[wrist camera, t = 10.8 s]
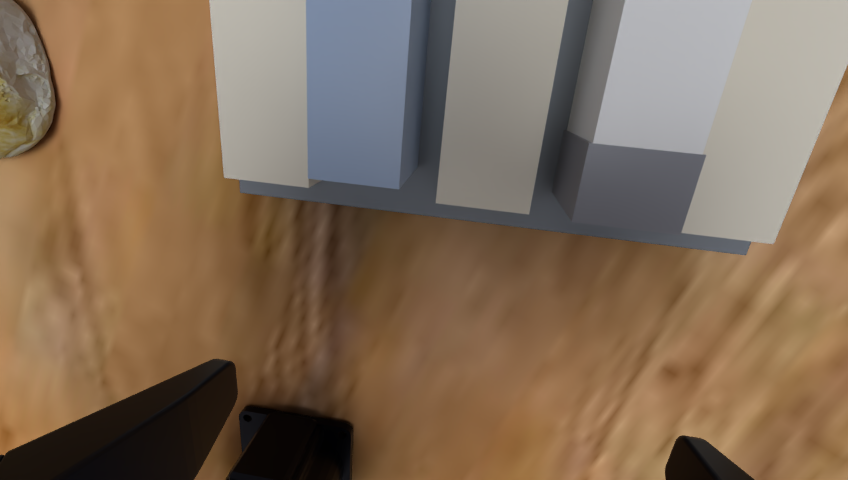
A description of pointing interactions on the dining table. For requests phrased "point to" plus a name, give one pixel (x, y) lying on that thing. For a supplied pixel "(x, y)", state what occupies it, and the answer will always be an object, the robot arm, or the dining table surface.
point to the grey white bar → (645, 110)
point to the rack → (533, 115)
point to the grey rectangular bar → (365, 89)
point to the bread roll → (22, 83)
